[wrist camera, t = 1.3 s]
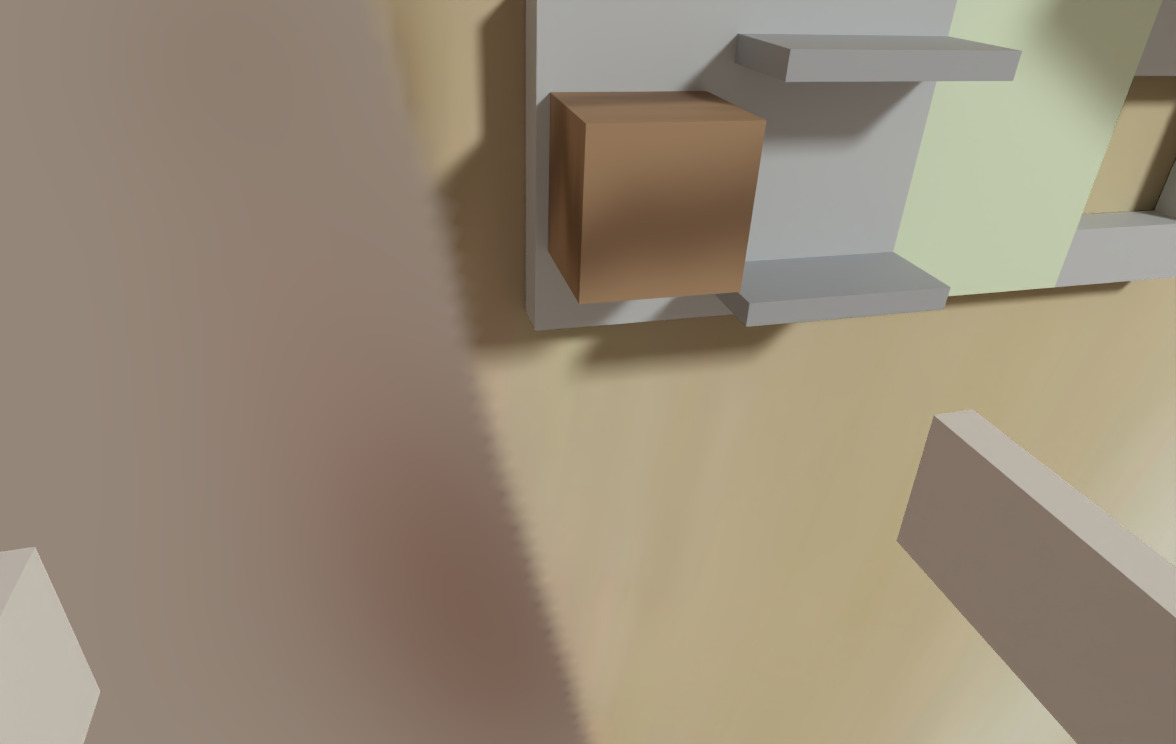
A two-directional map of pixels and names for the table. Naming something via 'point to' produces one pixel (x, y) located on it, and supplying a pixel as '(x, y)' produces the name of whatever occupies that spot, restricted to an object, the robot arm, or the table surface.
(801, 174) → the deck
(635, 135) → the block
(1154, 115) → the table surface
